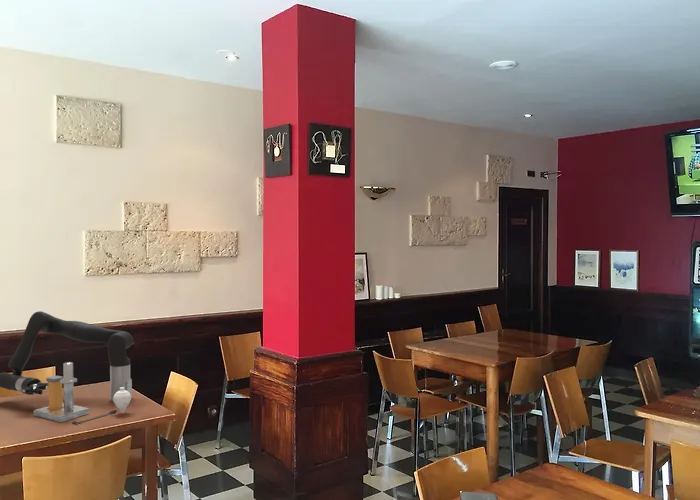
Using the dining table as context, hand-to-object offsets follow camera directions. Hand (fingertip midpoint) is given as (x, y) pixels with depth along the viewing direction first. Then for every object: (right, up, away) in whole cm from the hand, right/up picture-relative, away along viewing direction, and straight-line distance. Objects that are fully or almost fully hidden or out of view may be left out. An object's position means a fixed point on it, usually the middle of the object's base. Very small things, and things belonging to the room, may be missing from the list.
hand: (50, 389), depth 269 cm
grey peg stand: (+7, -10, -3) cm, 13 cm away
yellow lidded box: (+3, -10, -1) cm, 11 cm away
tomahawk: (+25, -11, -9) cm, 29 cm away
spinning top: (+34, -11, -1) cm, 35 cm away
